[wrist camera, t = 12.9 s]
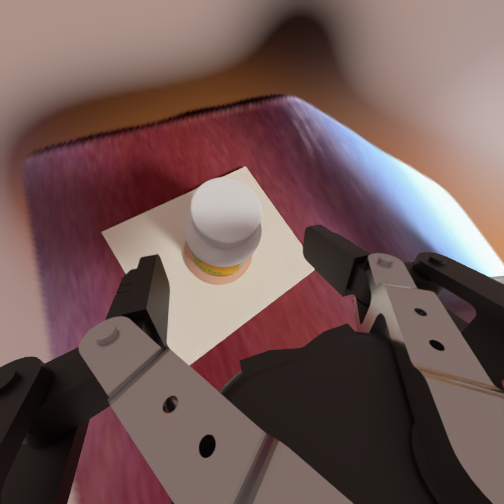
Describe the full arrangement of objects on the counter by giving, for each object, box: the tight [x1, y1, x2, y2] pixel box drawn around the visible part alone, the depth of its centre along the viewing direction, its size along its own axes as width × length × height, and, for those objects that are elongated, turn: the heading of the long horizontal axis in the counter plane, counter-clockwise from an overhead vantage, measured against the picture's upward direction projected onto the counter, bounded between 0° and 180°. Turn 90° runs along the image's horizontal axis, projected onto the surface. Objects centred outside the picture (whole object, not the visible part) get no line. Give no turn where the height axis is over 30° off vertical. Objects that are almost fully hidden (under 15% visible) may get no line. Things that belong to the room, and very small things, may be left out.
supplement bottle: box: [184, 177, 262, 277], centre depth 15 cm, size 5×5×10 cm
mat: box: [101, 166, 315, 365], centre depth 20 cm, size 17×15×1 cm
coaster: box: [184, 241, 252, 285], centre depth 20 cm, size 7×7×1 cm
